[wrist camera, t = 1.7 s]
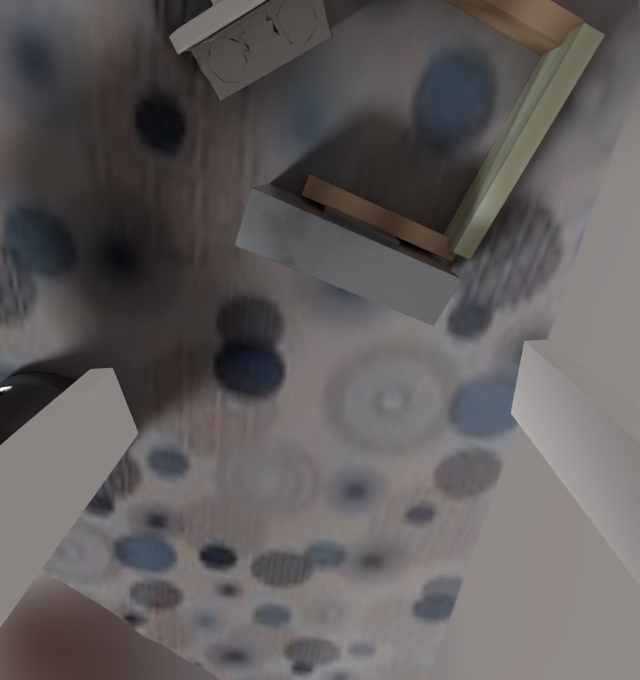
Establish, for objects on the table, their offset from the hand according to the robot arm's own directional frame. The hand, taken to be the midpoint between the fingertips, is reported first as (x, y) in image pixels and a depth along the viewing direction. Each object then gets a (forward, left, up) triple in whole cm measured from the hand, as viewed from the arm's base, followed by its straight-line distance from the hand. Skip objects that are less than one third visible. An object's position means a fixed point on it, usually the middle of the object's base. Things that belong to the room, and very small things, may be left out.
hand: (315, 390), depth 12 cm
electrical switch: (-9, +12, -24) cm, 28 cm away
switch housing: (+2, +1, -23) cm, 23 cm away
